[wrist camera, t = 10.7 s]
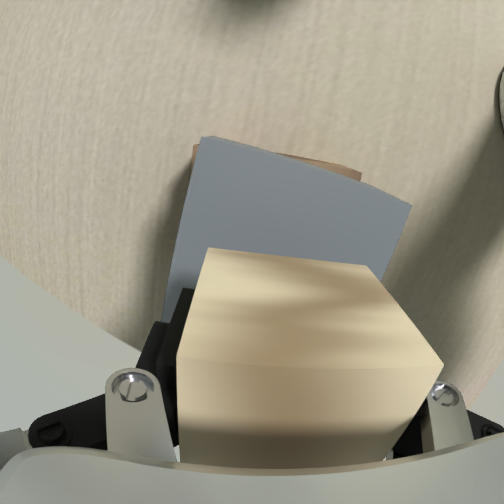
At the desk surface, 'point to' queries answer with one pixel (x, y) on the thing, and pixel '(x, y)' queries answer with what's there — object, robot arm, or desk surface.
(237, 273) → the maple block
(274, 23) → the desk surface
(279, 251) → the tower upper block
